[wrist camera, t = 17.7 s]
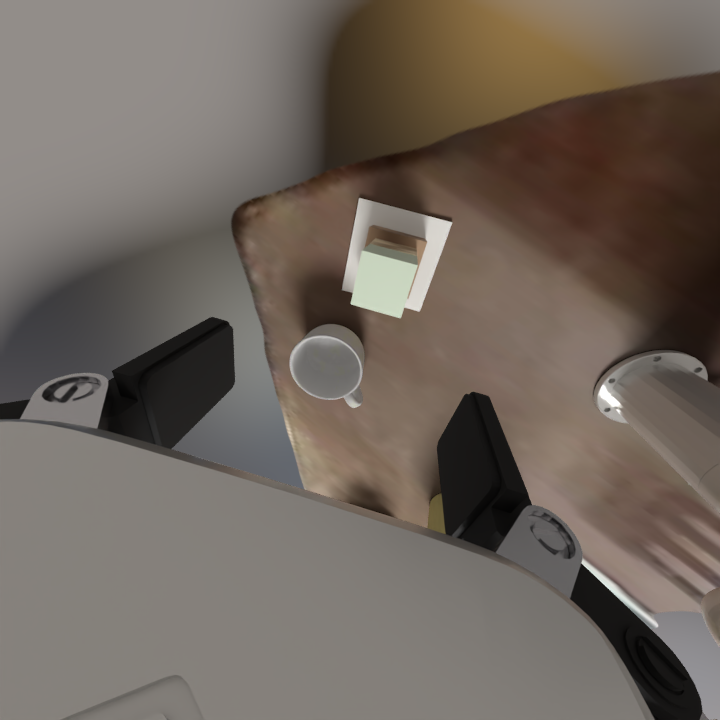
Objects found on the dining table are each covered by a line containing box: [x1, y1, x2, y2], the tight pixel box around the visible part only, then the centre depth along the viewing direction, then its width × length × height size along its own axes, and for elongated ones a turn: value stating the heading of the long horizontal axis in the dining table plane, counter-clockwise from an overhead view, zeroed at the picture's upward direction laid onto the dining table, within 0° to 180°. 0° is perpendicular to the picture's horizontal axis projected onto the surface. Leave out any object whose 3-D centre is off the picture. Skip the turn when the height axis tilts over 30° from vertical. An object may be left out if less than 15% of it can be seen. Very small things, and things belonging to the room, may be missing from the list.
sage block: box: [351, 244, 418, 318], centre depth 26 cm, size 5×5×5 cm
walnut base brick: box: [365, 225, 427, 299], centre depth 34 cm, size 7×7×4 cm
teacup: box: [290, 324, 365, 408], centre depth 42 cm, size 14×11×8 cm
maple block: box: [370, 238, 417, 256], centre depth 30 cm, size 5×5×5 cm
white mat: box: [342, 198, 452, 312], centre depth 36 cm, size 12×12×1 cm
